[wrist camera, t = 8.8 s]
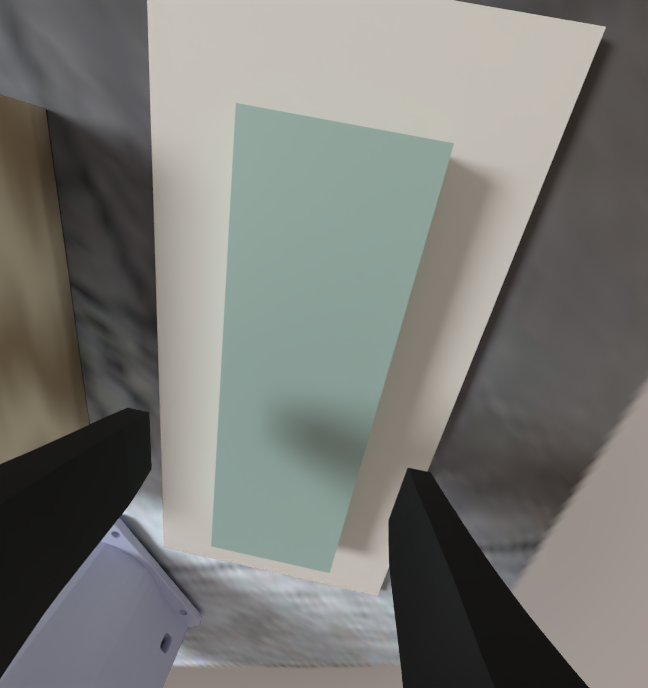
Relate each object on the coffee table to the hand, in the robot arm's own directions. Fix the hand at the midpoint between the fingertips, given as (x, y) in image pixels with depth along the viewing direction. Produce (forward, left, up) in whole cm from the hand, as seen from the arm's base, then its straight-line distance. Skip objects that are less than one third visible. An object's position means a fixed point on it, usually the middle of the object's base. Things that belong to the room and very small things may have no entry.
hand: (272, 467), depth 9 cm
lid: (0, 0, -5) cm, 5 cm away
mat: (0, 0, -5) cm, 5 cm away
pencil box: (+7, +10, -5) cm, 13 cm away
